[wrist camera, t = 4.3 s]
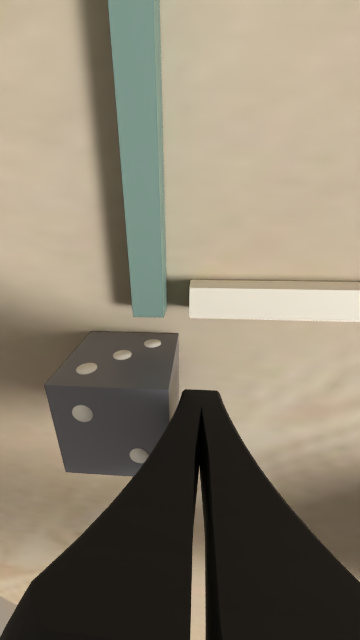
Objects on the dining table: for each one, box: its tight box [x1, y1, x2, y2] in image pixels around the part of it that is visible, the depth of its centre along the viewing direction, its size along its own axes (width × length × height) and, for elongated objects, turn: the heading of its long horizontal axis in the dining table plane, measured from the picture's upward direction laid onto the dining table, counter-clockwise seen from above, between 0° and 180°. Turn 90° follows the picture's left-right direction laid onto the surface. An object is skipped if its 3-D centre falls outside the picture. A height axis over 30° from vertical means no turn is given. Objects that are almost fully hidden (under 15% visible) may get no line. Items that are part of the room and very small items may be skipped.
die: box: [44, 331, 179, 476], centre depth 11 cm, size 4×4×4 cm
